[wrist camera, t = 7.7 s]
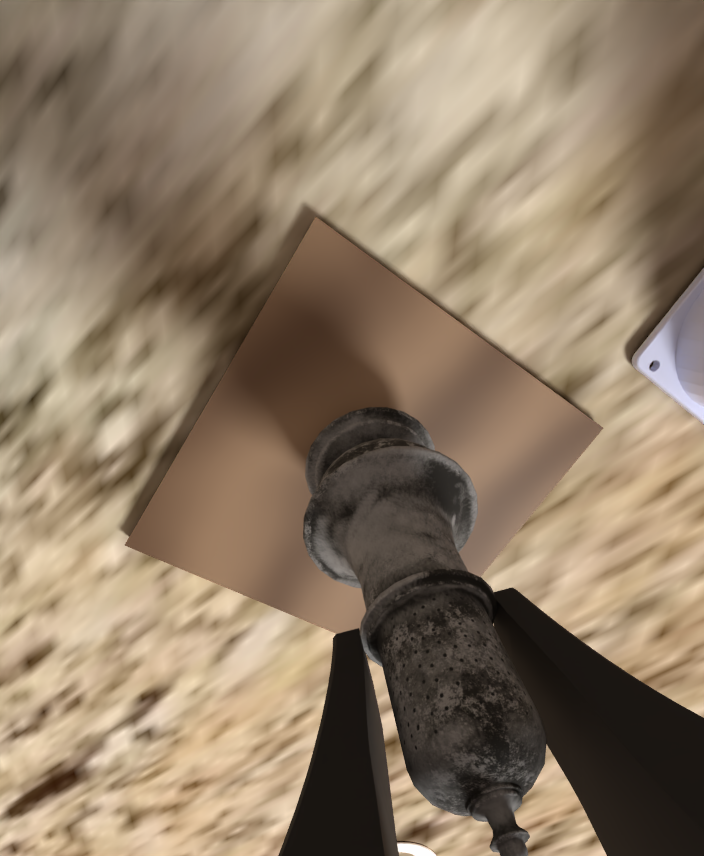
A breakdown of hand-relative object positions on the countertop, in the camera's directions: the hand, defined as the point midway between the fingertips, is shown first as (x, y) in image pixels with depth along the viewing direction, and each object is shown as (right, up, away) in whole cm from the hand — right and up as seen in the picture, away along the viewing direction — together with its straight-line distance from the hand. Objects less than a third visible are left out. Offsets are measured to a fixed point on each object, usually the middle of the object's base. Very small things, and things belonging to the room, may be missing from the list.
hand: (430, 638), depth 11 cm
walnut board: (-1, +3, +9) cm, 10 cm away
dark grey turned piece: (-1, +4, +6) cm, 7 cm away
